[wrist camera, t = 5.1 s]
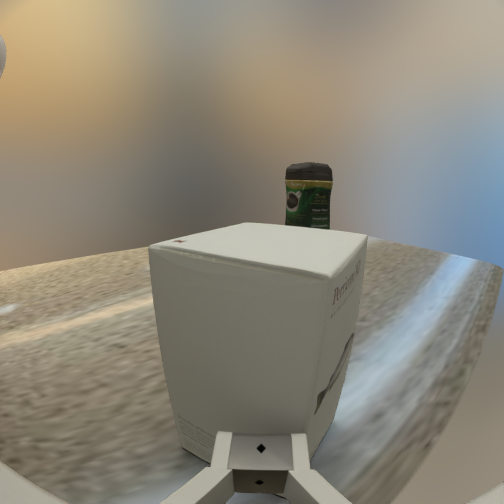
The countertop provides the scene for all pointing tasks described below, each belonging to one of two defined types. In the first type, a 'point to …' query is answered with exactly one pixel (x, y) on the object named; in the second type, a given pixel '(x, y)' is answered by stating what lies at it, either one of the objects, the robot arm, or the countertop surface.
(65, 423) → the countertop surface
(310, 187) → the coffee jar
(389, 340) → the countertop surface
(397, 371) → the countertop surface
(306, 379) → the supplement box
